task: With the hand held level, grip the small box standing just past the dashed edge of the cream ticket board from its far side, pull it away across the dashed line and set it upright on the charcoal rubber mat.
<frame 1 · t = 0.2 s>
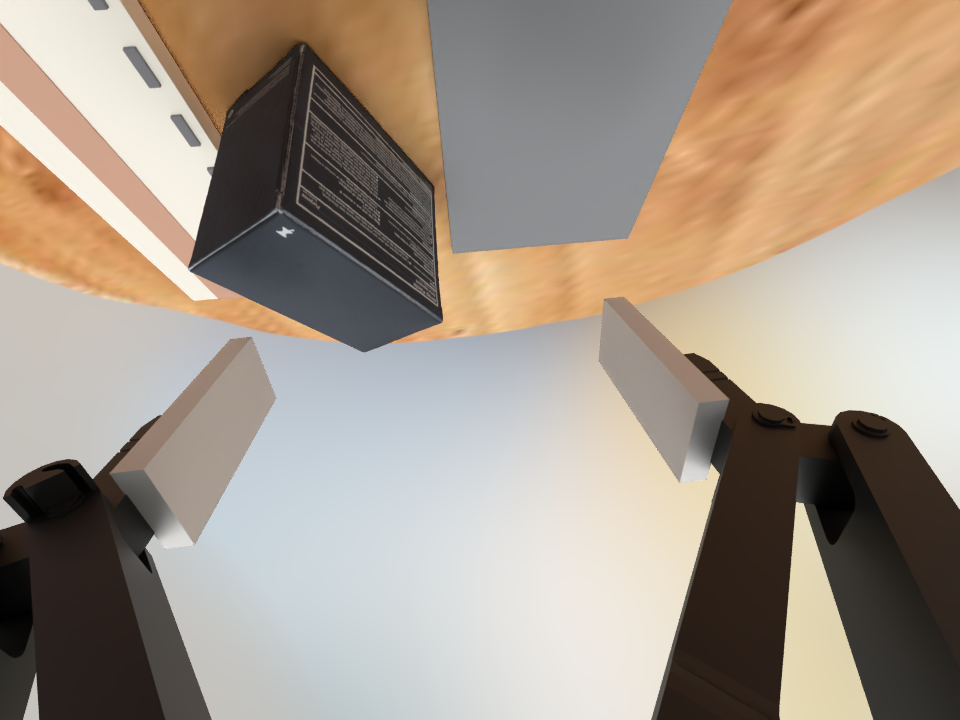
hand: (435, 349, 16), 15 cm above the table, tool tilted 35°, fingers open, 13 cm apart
small box: (340, 152, 25), on the table
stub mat: (558, 138, 25), on the table
ticket board: (158, 169, 24), on the table
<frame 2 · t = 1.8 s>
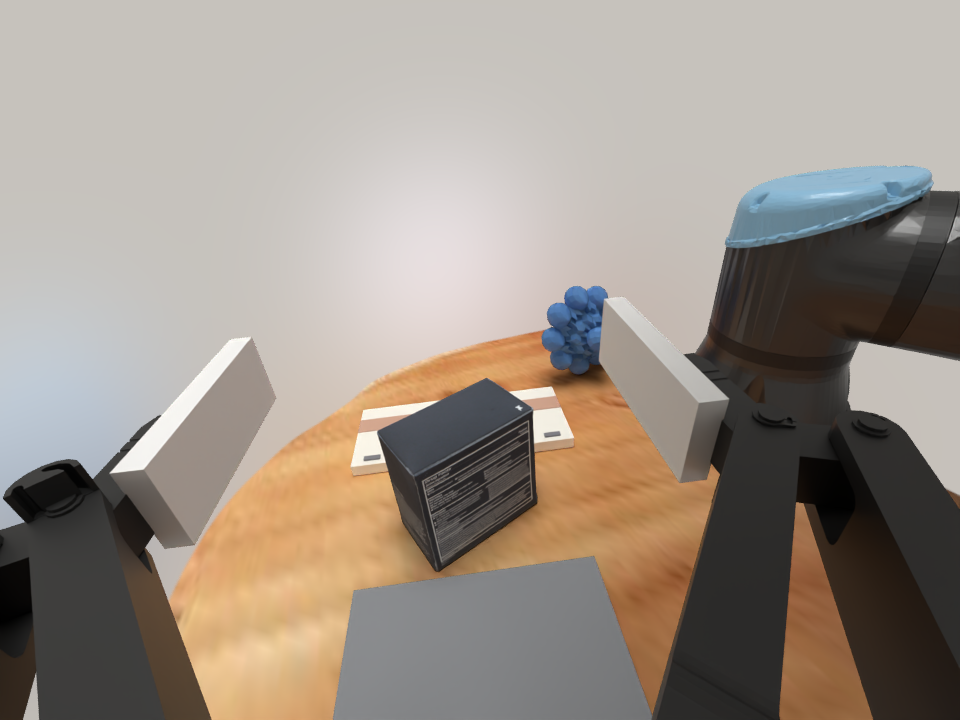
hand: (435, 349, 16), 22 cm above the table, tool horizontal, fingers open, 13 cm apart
blue bumpy cluster: (584, 377, 53), on the table
small box: (469, 512, 37), on the table
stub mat: (486, 686, 25), on the table
ticket board: (462, 431, 45), on the table
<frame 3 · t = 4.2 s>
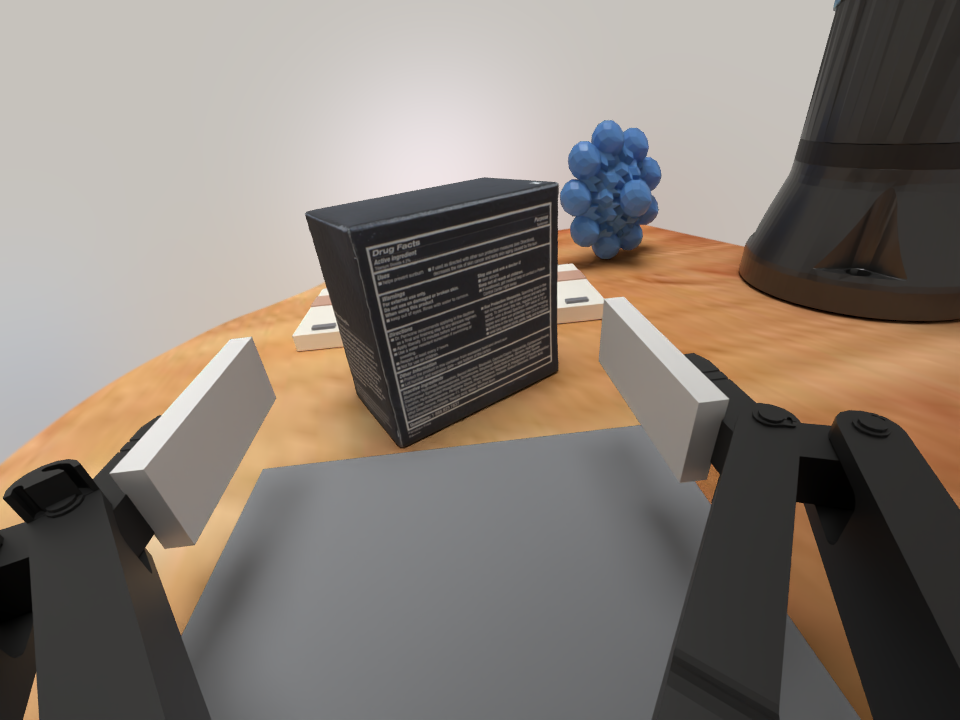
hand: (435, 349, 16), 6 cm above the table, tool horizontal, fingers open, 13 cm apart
blue bumpy cluster: (614, 263, 41), on the table
small box: (458, 385, 25), on the table
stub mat: (474, 604, 13), on the table
ticket board: (452, 309, 34), on the table
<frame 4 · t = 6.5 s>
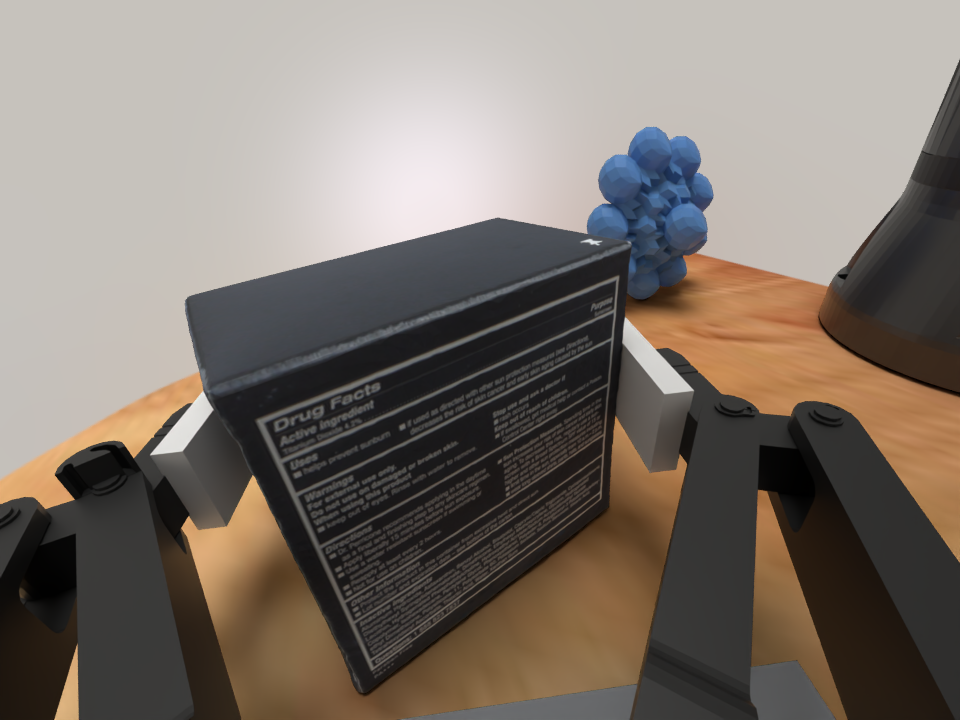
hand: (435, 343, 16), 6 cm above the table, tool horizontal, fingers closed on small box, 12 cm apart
blue bumpy cluster: (651, 304, 32), on the table
small box: (457, 528, 16), on the table, touching gripper
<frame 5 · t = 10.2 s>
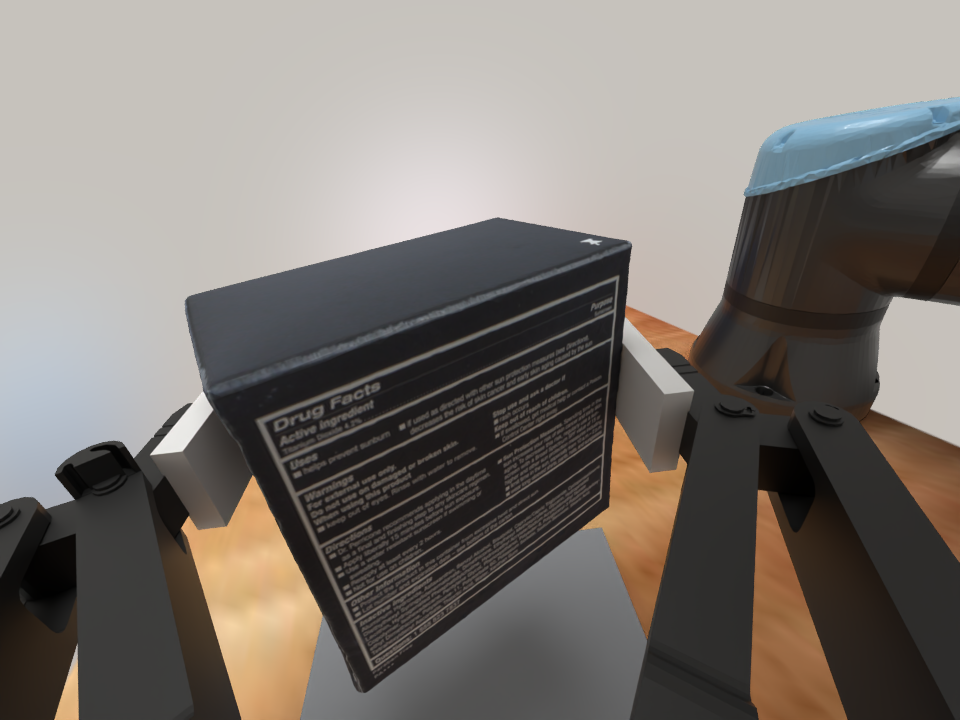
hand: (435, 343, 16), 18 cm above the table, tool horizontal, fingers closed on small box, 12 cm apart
small box: (457, 528, 16), point 11 cm above the table, touching gripper
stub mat: (480, 666, 22), on the table
when the fingers open (7 cm above the table, at t = 13.5 s): small box moves 1 cm, resting on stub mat.
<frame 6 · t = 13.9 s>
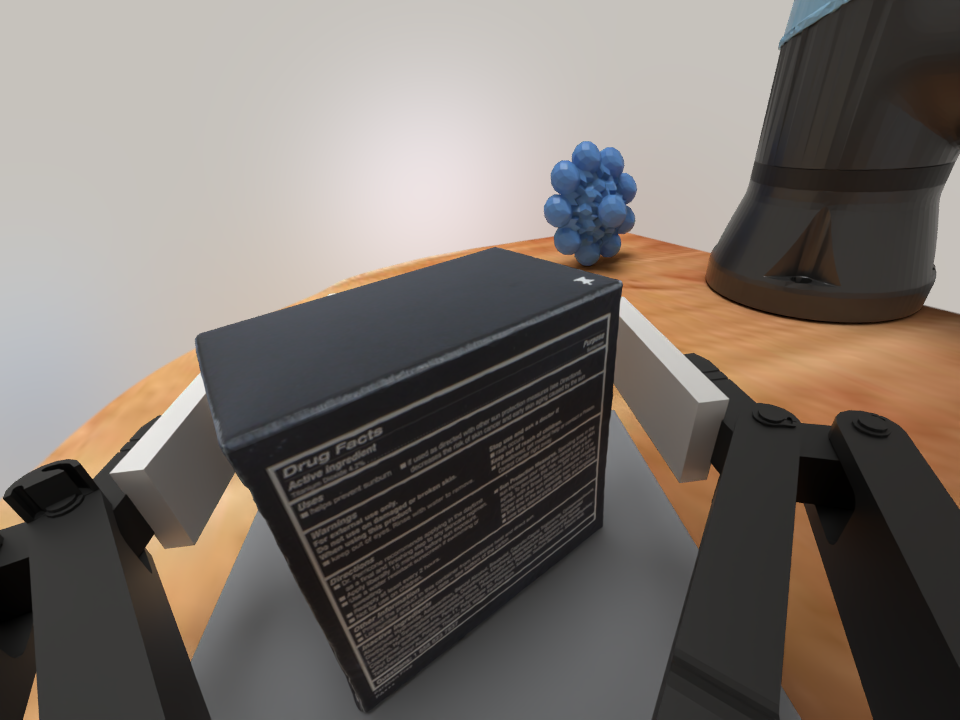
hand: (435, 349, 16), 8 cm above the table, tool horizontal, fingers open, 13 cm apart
blue bumpy cluster: (594, 269, 44), on the table
small box: (456, 546, 17), resting on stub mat
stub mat: (459, 548, 17), on the table
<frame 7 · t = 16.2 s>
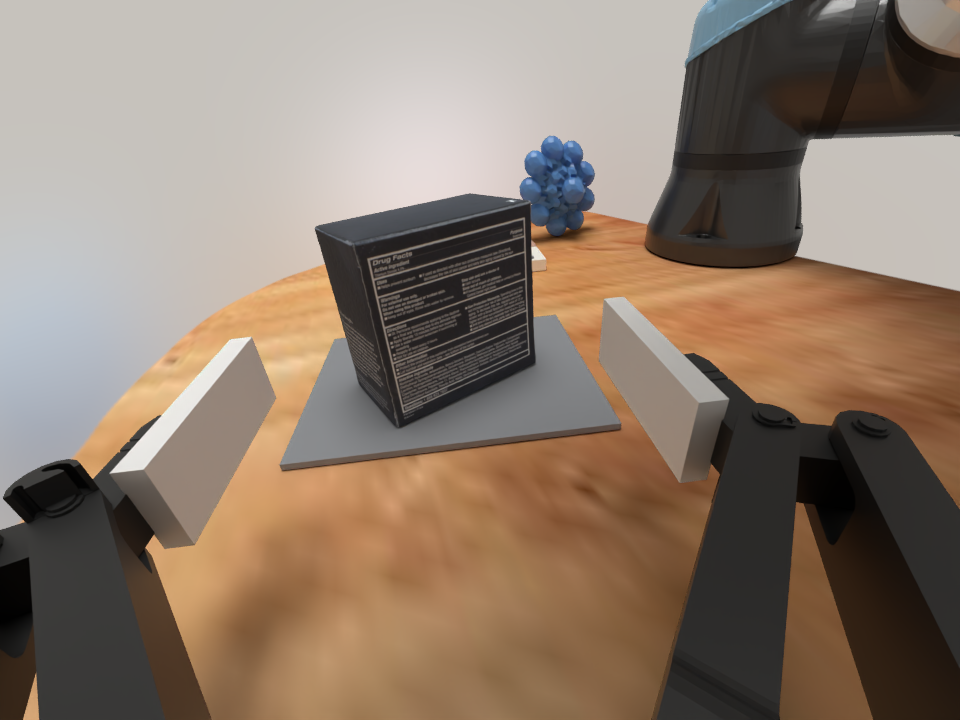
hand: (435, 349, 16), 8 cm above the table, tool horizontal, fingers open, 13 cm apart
blue bumpy cluster: (562, 238, 56), on the table
small box: (447, 375, 28), resting on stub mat
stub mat: (449, 377, 28), on the table
ticket board: (443, 267, 48), on the table
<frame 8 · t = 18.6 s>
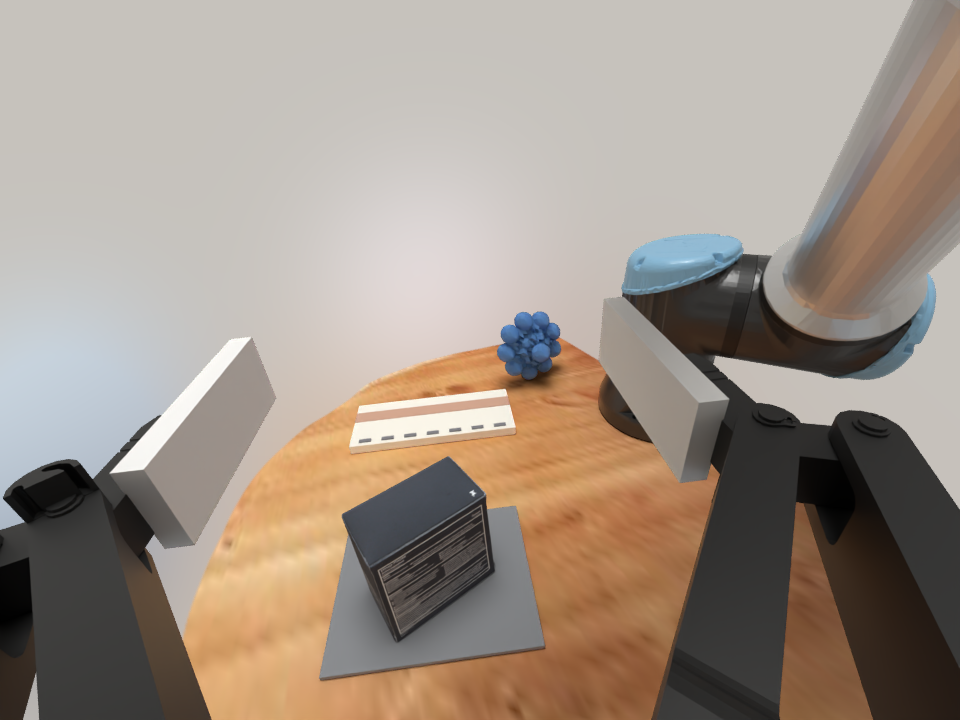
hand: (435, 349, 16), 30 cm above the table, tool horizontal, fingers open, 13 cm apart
blue bumpy cluster: (534, 382, 67), on the table
small box: (432, 579, 39), resting on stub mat
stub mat: (434, 580, 40), on the table
ticket board: (434, 422, 60), on the table
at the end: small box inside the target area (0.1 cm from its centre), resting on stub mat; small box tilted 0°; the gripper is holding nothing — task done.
